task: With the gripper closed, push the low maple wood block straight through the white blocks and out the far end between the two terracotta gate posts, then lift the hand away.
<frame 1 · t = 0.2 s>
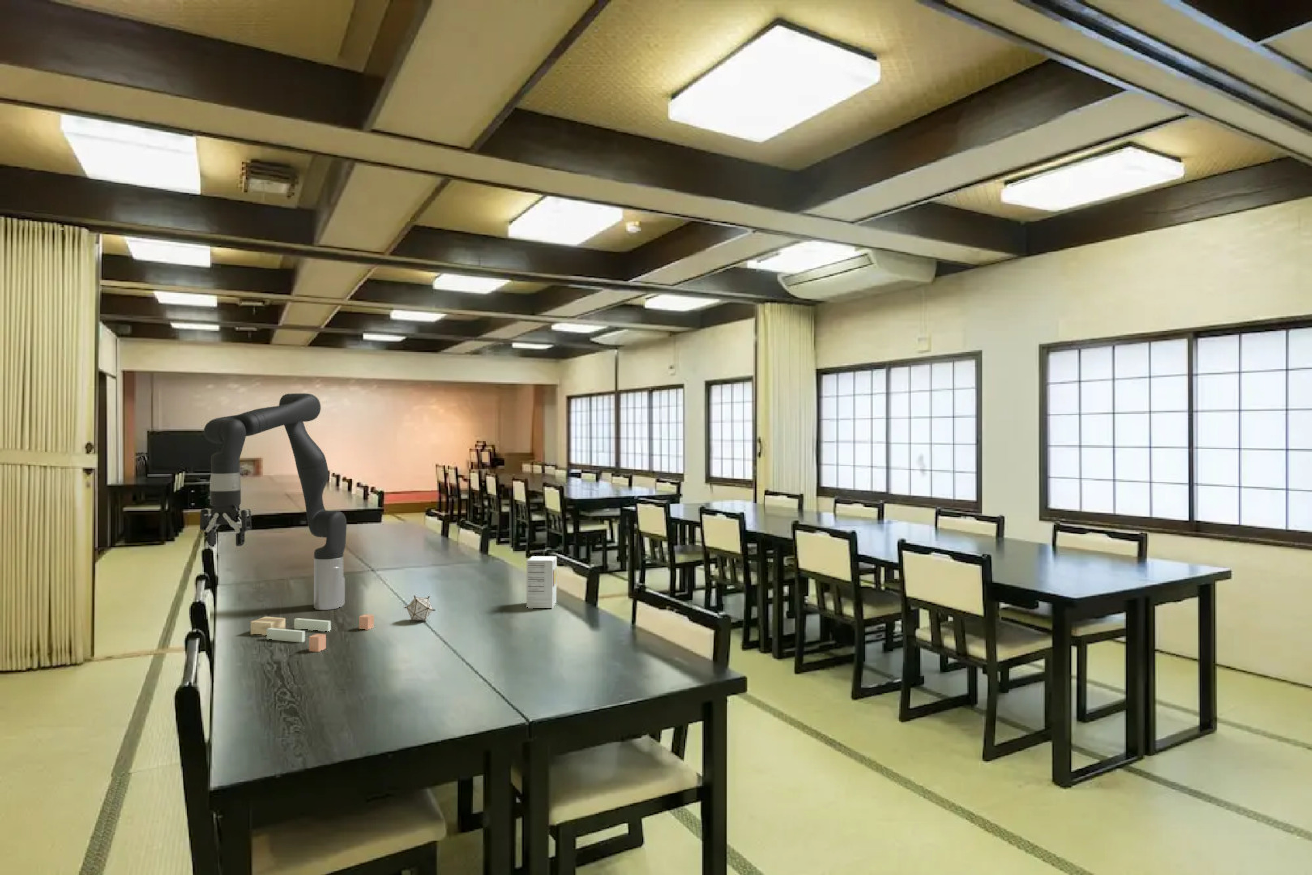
hand: (225, 545, 204), 28 cm above the table, tool pointing down, fingers open, 8 cm apart
maple block: (268, 633, 216), on the table
gate posts: (343, 638, 210), on the table
white blocks: (299, 634, 214), on the table
game die: (419, 621, 230), on the table
supplement box: (541, 606, 252), on the table
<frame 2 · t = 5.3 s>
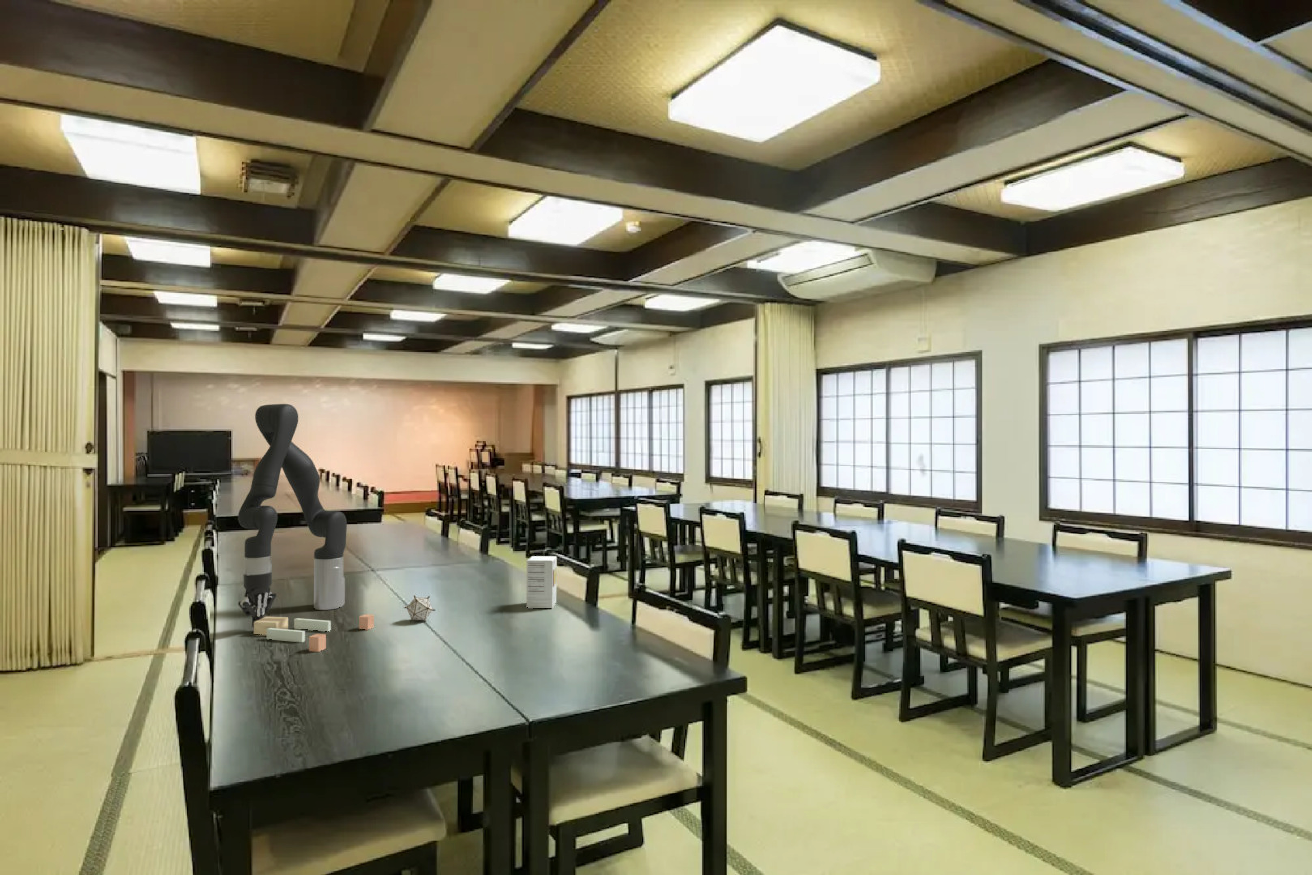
hand: (257, 627, 217), 1 cm above the table, tool pointing down, fingers closed
maple block: (271, 632, 216), on the table
everything else where it was.
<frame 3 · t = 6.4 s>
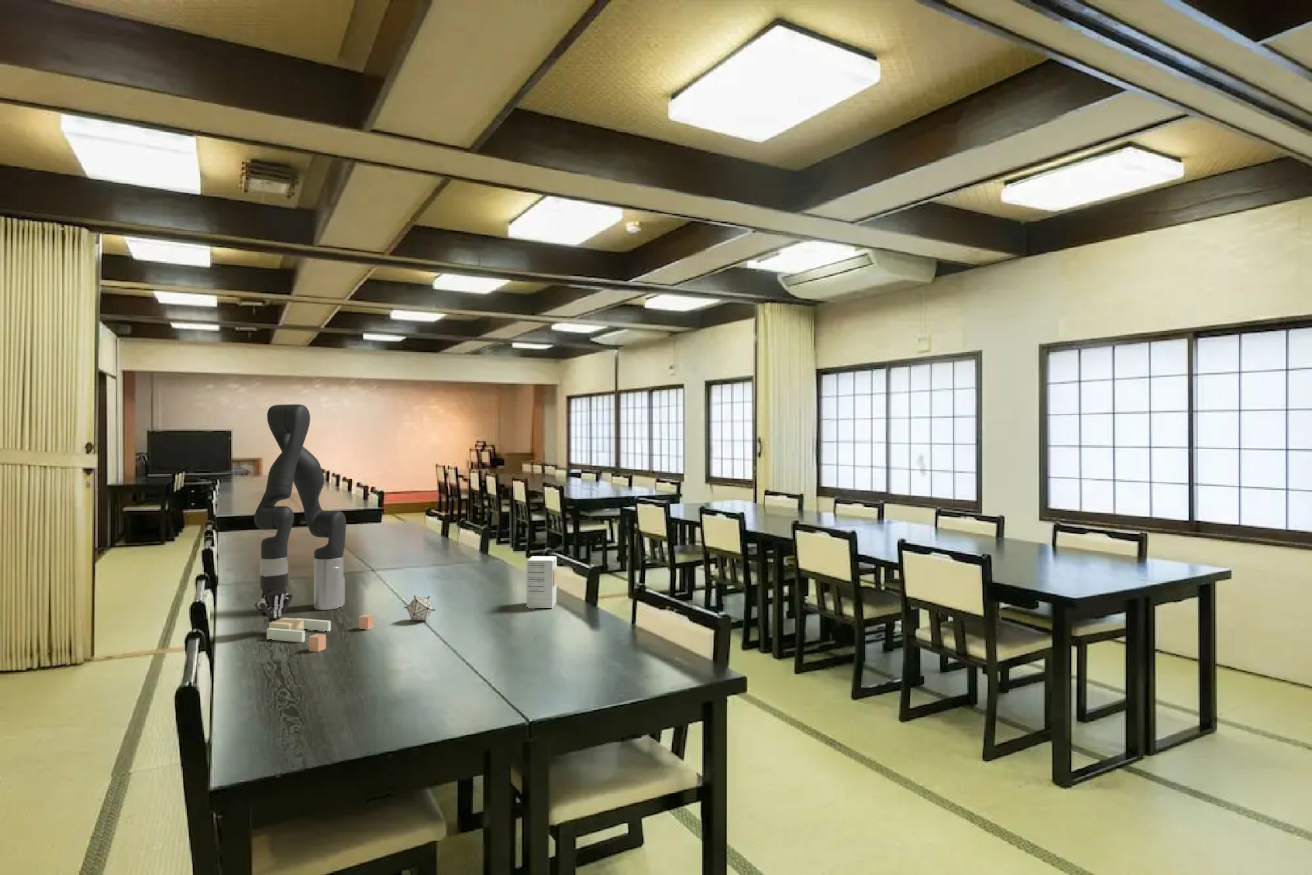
hand: (274, 629, 216), 1 cm above the table, tool pointing down, fingers closed
maple block: (286, 634, 215), on the table, touching gripper
everything else where it was.
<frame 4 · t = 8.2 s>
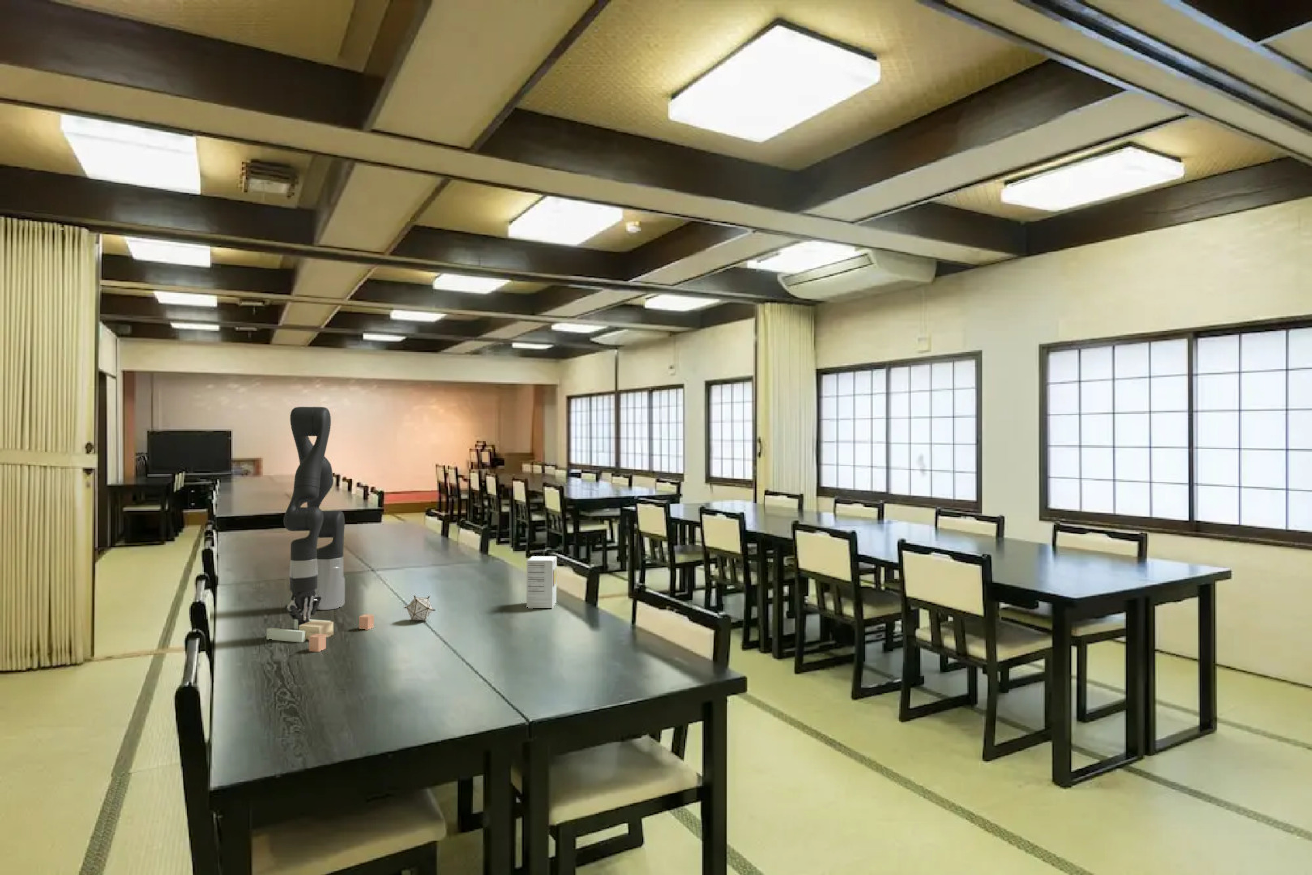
hand: (303, 631, 213), 1 cm above the table, tool pointing down, fingers closed
maple block: (316, 637, 212), on the table, touching gripper
everything else where it was.
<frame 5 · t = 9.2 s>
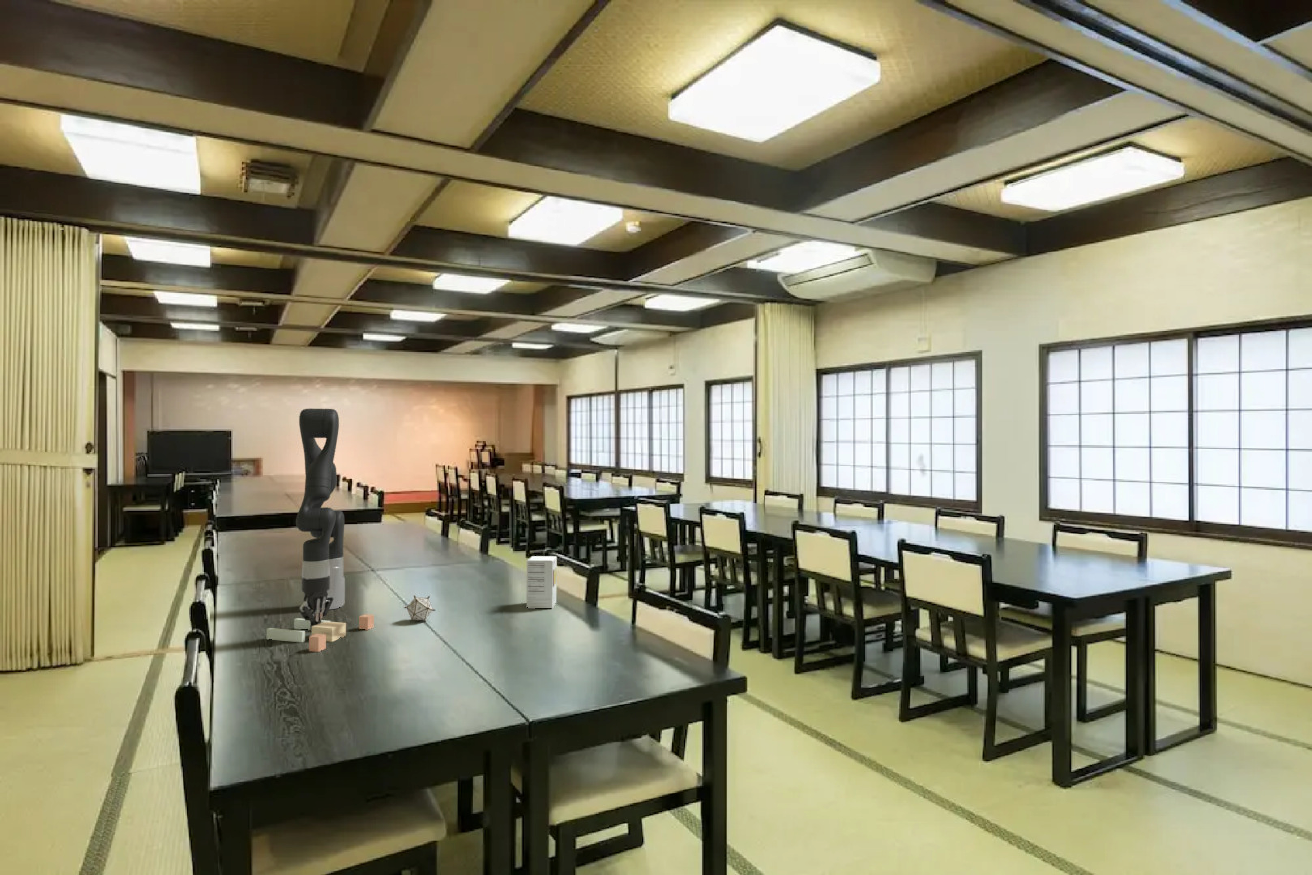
hand: (315, 632, 212), 1 cm above the table, tool pointing down, fingers closed
maple block: (328, 638, 211), on the table
everything else where it was.
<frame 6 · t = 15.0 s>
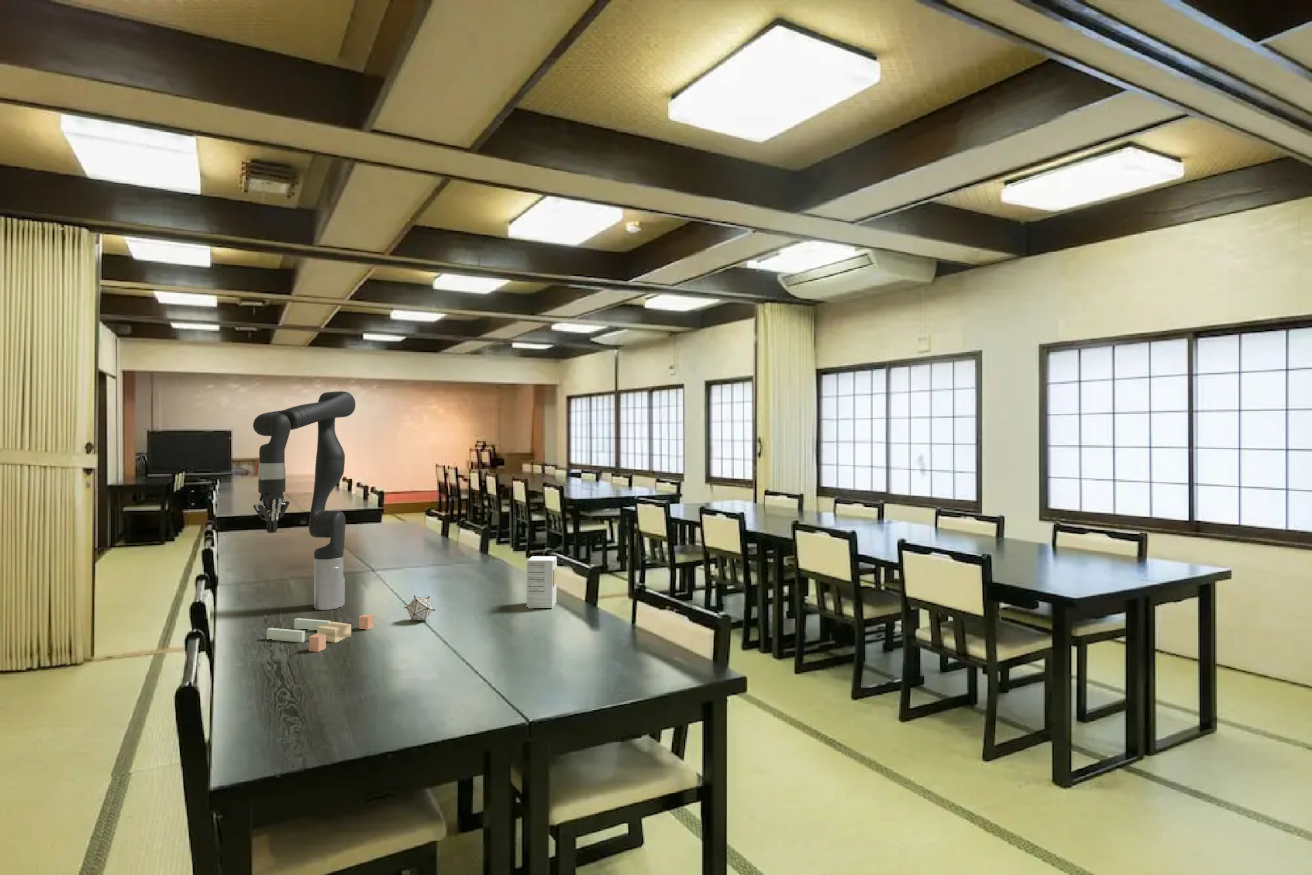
hand: (271, 532, 224), 29 cm above the table, tool pointing down, fingers closed
maple block: (334, 638, 211), on the table
everything else where it was.
at the end: maple block inside the target area (1.9 cm from its centre), on the table; maple block tilted 0°; maple block moved 23.1 cm from its start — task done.
